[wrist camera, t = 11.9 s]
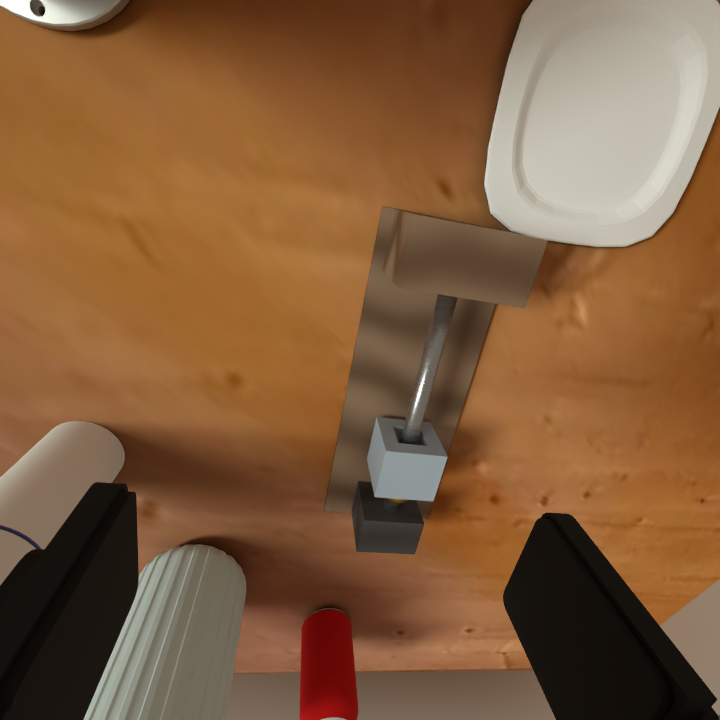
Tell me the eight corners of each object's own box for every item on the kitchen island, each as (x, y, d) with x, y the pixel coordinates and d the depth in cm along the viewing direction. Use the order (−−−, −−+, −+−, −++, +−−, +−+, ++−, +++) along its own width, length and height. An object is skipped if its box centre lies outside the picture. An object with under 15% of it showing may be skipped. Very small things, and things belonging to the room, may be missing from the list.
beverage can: (357, 623, 53) (369, 737, 42) (314, 640, 54) (314, 757, 43) (338, 595, 51) (345, 708, 40) (293, 613, 51) (288, 729, 40)
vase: (199, 514, 44) (100, 801, 23) (270, 570, 48) (239, 854, 28) (122, 567, 45) (-33, 877, 25) (197, 616, 50) (117, 915, 29)
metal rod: (427, 275, 33) (438, 283, 30) (463, 281, 34) (477, 290, 31) (367, 517, 43) (371, 541, 40) (396, 518, 44) (402, 543, 41)
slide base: (382, 206, 33) (398, 211, 27) (515, 232, 35) (560, 242, 29) (323, 509, 45) (325, 562, 39) (426, 515, 47) (444, 567, 41)
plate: (647, 253, 38) (662, 256, 36) (463, 228, 35) (470, 230, 33) (742, 12, 31) (765, 3, 29) (522, -42, 28) (534, -55, 27)
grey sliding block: (376, 416, 40) (386, 451, 35) (430, 422, 41) (447, 456, 35) (366, 458, 41) (374, 497, 36) (418, 463, 42) (433, 501, 37)
